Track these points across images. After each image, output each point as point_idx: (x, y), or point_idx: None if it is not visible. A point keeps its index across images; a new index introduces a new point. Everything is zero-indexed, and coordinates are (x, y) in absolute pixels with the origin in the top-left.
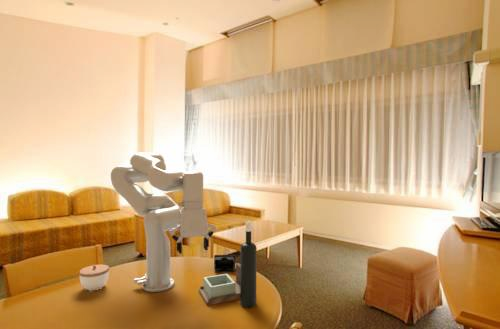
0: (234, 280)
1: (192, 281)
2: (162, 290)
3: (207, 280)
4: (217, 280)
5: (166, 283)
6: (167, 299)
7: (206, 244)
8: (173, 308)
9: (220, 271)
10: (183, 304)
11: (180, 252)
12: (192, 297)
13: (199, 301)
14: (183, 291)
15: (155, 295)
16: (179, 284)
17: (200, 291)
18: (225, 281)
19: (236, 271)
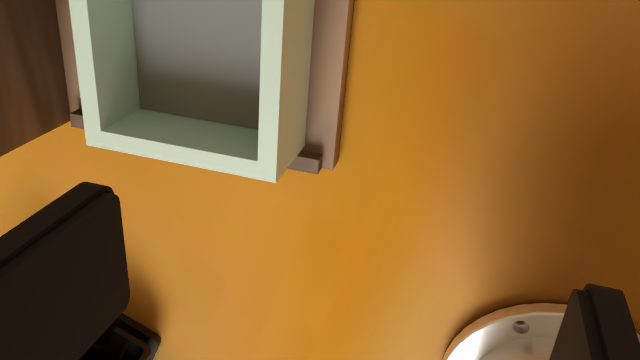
0: (73, 122)
1: (325, 311)
2: (564, 305)
3: (264, 109)
4: (183, 130)
5: (518, 349)
6: (586, 174)
7: (32, 232)
8: (615, 12)
9: (127, 321)
10: (516, 33)
11: (611, 294)
12: (411, 102)
13: (389, 14)
14: (432, 220)
15: (635, 277)
16: (417, 323)
17: (337, 123)
18: (133, 113)
19: (12, 140)
